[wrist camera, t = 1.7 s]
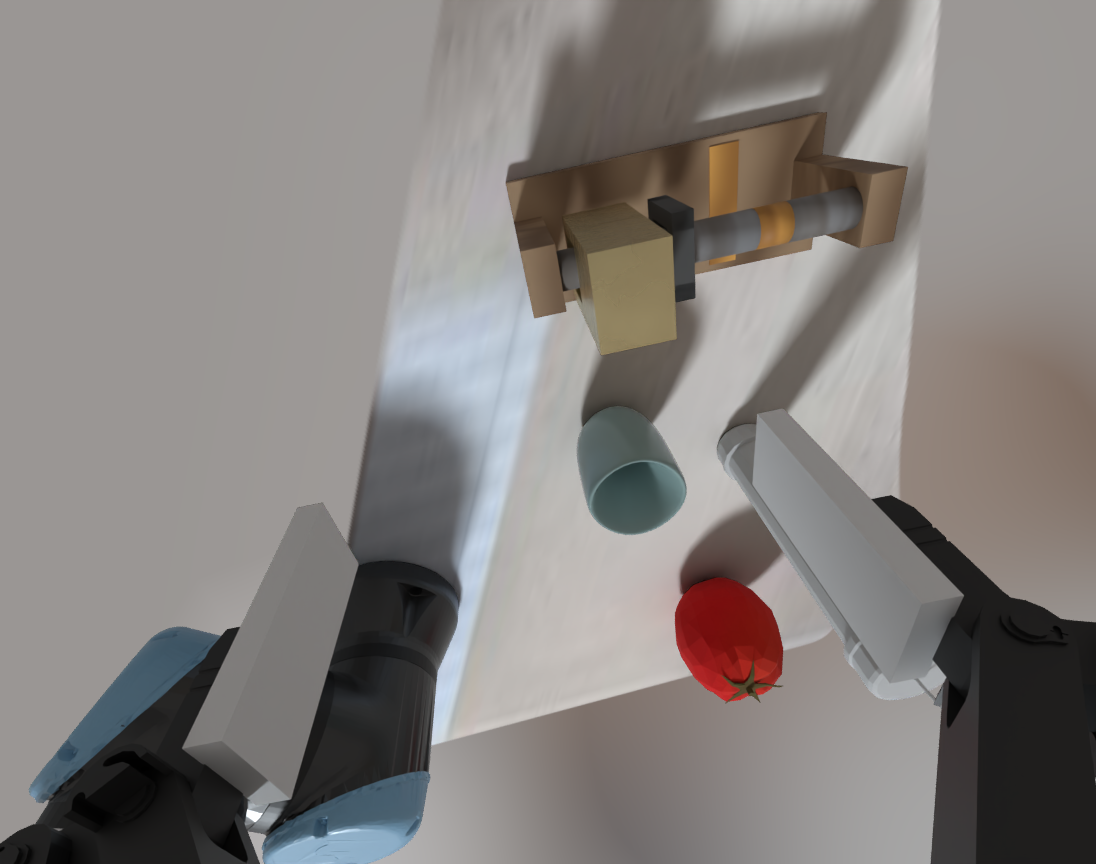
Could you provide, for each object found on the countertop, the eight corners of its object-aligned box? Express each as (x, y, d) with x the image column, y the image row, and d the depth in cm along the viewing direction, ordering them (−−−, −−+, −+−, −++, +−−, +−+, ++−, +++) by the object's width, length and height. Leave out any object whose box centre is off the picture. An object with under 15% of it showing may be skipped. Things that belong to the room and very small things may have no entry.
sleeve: (574, 295, 34) (601, 355, 26) (561, 215, 31) (587, 254, 23) (632, 283, 34) (676, 339, 26) (624, 201, 31) (672, 235, 23)
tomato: (646, 618, 64) (679, 725, 53) (682, 552, 57) (727, 658, 46) (727, 624, 66) (774, 727, 55) (769, 560, 60) (833, 663, 49)
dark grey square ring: (652, 278, 33) (675, 302, 29) (647, 199, 31) (671, 213, 26) (669, 274, 33) (695, 298, 29) (666, 194, 31) (693, 208, 26)
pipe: (715, 426, 48) (963, 776, 23) (779, 415, 48) (1096, 753, 23) (712, 470, 51) (927, 821, 26) (772, 460, 51) (1044, 801, 26)
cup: (614, 377, 44) (643, 441, 35) (668, 425, 47) (706, 493, 39) (554, 434, 46) (568, 505, 38) (609, 475, 50) (633, 549, 41)
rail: (531, 305, 39) (542, 355, 31) (505, 181, 34) (510, 204, 26) (804, 246, 39) (884, 281, 31) (818, 112, 34) (918, 114, 26)
